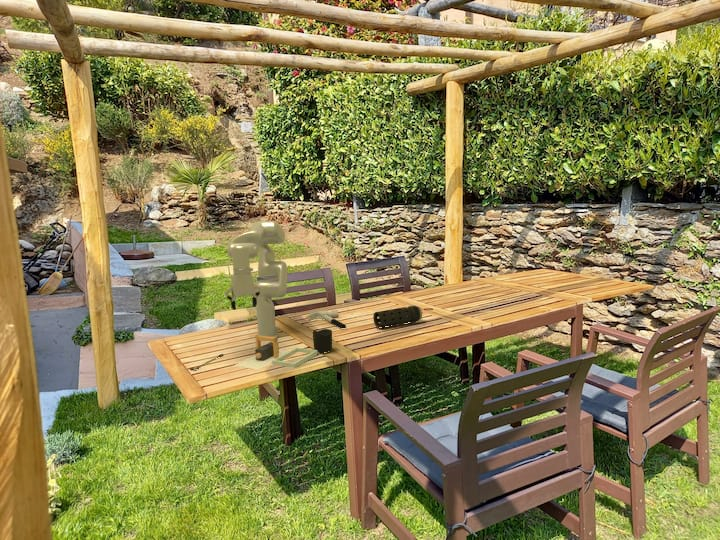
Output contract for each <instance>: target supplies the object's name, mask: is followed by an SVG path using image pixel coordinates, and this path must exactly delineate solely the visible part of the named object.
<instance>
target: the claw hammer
mask: <svg viewBox="0 0 720 540" xmlns="http://www.w3.org/2000/svg"><path fill="white" fill-rule="evenodd" d="M337 316H338V317H339V316H340V315H339V311H338V310H337V309H336V310H331V311H328V310H327V309H325V310H323V309H322V310H318V311H313V312H311V313H309V314H307V315H306V316H305V318H306V319H307V320H306V322H308V323H310V322H309V321H311V320H314V319H322V320H321V321H327V322H329V323H331V324H332V325H334V326H335V325H336V326H335V327H337V326H338V327H337V328H339V327H340V328H339V329H341V328H347V326H346V324H345V323H342V322H341V321H339V320H338V319H335V318H338V317H337ZM333 317H334V318H333ZM323 319H325V320H323ZM306 322H305V323H306ZM311 322H312V321H311Z"/></svg>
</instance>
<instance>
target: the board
mask: <svg viewBox="0 0 720 540" xmlns="http://www.w3.org/2000/svg"><path fill="white" fill-rule="evenodd" d="M289 351H290V350H289ZM289 351H288V350H283V349H279V353H278V355H279V356H278V357H280V356H282V355H284V354H285V353H287V352H289ZM278 357H277V358H278ZM274 359H276V358H274V356H272V357H270V358H268V359H266V360H265V361H261V360H256V354H254V355H252V356H250V357H248V358H246V359H244V360H242V361H240V362H238V363H237V364H234V365H233V366H234V367H238V368H239V367H240V368H246V369H251V370H257V371H259V370H261V369H263V368H264V367H266V366H268V365H270V364H272V360H274Z"/></svg>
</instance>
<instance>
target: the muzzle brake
mask: <svg viewBox="0 0 720 540" xmlns="http://www.w3.org/2000/svg"><path fill="white" fill-rule="evenodd" d="M422 318H423V312H422V308H421V307H420V306H418V305H409V306H407V307H405V306H404V307H399V308H393V309H386V310H381V311H380V310H379V311H375V312H374V313H373V318H372V319H373V323H374V326H375V327H376V328H377V327H378V328H379V327H385V326H391V325H397V324H399V325H404V324H403V323H408V322H411V323H415V322H416V321H417V322H419V321H420V320H422ZM397 326H398V325H397ZM378 328H377V329H378Z"/></svg>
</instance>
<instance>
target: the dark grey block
mask: <svg viewBox="0 0 720 540" xmlns="http://www.w3.org/2000/svg"><path fill="white" fill-rule="evenodd" d="M279 350H280V349H279V346H278V353H279ZM255 355H256V360H261V361H265V360H266V359H268V358H270V357H272V356H274V350H273V342H272V341H269V343H266V344H264V345H262V346H261V347H259V348H257V349H256V348H255Z"/></svg>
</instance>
